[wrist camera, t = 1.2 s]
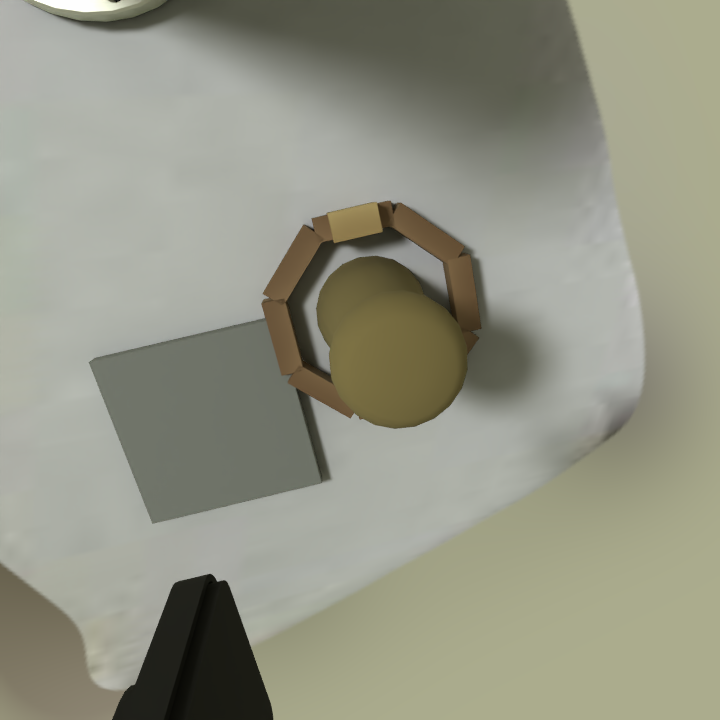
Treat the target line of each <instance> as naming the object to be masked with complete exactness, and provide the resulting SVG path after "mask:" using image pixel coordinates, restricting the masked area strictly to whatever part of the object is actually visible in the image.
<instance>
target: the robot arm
mask: <svg viewBox="0 0 720 720" xmlns="http://www.w3.org/2000/svg"><path fill="white" fill-rule="evenodd" d="M23 1H25V2H28V3H30V4H32V5H34V6H36V7H38V8H40V9H43V10H45V11H47V12H49V13H52V14H56V15H60V16H64V17H68V18H72V19H75V20H82V21H102V22H108V21H114V20H120V19H126V18H132V17H135V16H138V15H140V14H143V13H145V12H148V11H150V10H153V9H155V8H157V7H159V6H160V5H162V4H163V3H165V2H166V1H168V0H121V1H119V2H117V3H116V1H115V0H23ZM112 720H273V713H272V707H271V703H270V700H269V697H268V695H267V692H266V689H265V686H264V683H263V680H262V678H261V675H260V672H259V669H258V666H257V663H256V661H255V658H254V655H253V652H252V649H251V646H250V644H249V641H248V638H247V635H246V632H245V629H244V627H243V624H242V621H241V618H240V615H239V612H238V610H237V607H236V604H235V601H234V598H233V595H232V593H231V590H230V587H229V585H228V583H227V582H226V581H225V580H223V581H219V582H217V581H216V578H215V577H214V576H213V575H212V574H207V575H203V576H199V577H195V578H191V579H187V580H182V581H178V582H176V583H175V584H174V585H173V587H172V589H171V591H170V594H169V597H168V599H167V602H166V605H165V607H164V610H163V613H162V615H161V618H160V620H159V623H158V626H157V628H156V631H155V634H154V636H153V639H152V642H151V644H150V647H149V650H148V652H147V655H146V657H145V660H144V663H143V665H142V668H141V671H140V673H139V676H138V679H137V681H136V684H135V685H132V686H130V687H129V688H128V689H127V690H126V691H125V692H124V694H123V696H122V698H121V700H120V702H119V704H118V706H117V709H116V712H115V714H114V716H113V719H112Z"/></svg>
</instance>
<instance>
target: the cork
mask: <svg viewBox="0 0 720 720" xmlns="http://www.w3.org/2000/svg"><path fill="white" fill-rule="evenodd" d="M316 311H317V320H318V326H319V329H320V331H321V333H322V335H323V338H324V340H325V342H326V343H327V344H328V346H329V347H330V352H329V360H330V370H331V379H332V381H333V384H334V386H335V388H336V390H337V392H338V394H339V397H340V398H341V399H342V400H343V401H344V402H345V404H346V405H347V406H348V407H349V408H350V409H351V410H352V411H353V412H354V413H355V414H356V415H357V416H359V417H361V418H363V419H365V420H367V421H369V422H370V423H372V424H374V425H378V426H383V427H389V428H394V429H396V428H406V427H415V426H417V425H420V424H422V423H425V422H427V421H429V420H432V419H434V418H435V417H437V416H438V415H439V414H440V413H442V412H443V411H444V410H445V409H446V408H448V407H449V406H450V405H451V403H452V402H453V400H454V399H455V398H456V396H457V395H458V393H459V392H460V390H461V389H462V386H463V382H464V379H465V376H466V372H467V346H466V342H465V339H464V337H463V334H462V331H461V328H460V326H459V324H458V323H457V322H456V320H455V319H454V318H453V317H452V315H451V314H450V313H449V312H448V311H447V309H446V308H444V307H443V306H441V305H440V304H438V303H436V302H435V301H433V300H432V299H430V298H428V297H427V296H425V295H424V293H423V291H422V288H421V286H420V283H419V282H418V280H417V279H416V278H415V277H414V275H413V274H412V273H411V272H410V270H409V269H407V268H406V267H404V266H403V265H401V264H399V263H398V262H396V261H395V260H392V259H388V258H384V257H379V256H369V257H359V258H356V259H354V260H352V261H349V262H347V263H345V264H342V265H341V266H340V267H339V268H338V269H337V270H336V271H334V272H333V273H332V274H331V275H330V276H329V277H328V279H327V280H326V282H325V284H324V286H323V287H322V289H321V291H320V294H319V298H318V303H317V307H316Z"/></svg>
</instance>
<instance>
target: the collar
mask: <svg viewBox="0 0 720 720" xmlns="http://www.w3.org/2000/svg"><path fill="white" fill-rule="evenodd" d="M312 222H313V227H314V231H313V230H312V229H310V228H309V227H307V226H306V225H303V226H302V228H301V230H300V231H299V233H298V235H297V236H296V238H295V240H294V241H293V243H292V245H291V246H290V248H289V250H288V252H287V253H286V255H285V257H284V258H283V260H282V262H281V263H280V265H279V267H278V268H277V270H276V272H275V274H274V275H273V277H272V279H271V280H270V282H269V284H268V285H267V287H266V289H265V290H264V292H263V294H264V295H266V296H267V297H269V298H268V299H264V300H263V302H262V303H261V304H262V307H263V311H264V315H265V318H266V322H267V325H268V329H269V332H270V336H271V340H272V343H273V347H274V350H275V354H276V357H277V361H278V365H279V368H280V372H281V375H282V376H283V375H287V374H292V375H291V377H290V378H289V380H288V384H290V385H292V386H293V387H295V388H297V389H299V390H301V391H302V392H304V393H306V394H308V395H310V396H311V397H313V398H315V399H317V400H319V401H320V402H322V403H324V404H326V405H327V406H329V407H331V408H333V409H335V410H336V411H338V412H340V413H342V414H344V415H345V416H347V417H349V418H351V417H352V415H353V414H354V412H353V411H352V410H351V409H350V408H349V407H348V406H347V405H346V404H345V402H344V401H343V400H342V399H341V398H340V397H339V394H338V392H337V390H336V388H335V386H334V384H333V381H332V379H331V376H329V375H327V374H326V373H324V372H322V371H320V370H319V369H317V368H315V367H314V366H312V365H310V364H308V363H307V362H305V361H303V359H302V355H301V351H300V347H299V344H298V340H297V336H296V332H295V328H294V325H293V321H292V317H291V313H290V310H289V306H288V302H287V299H288V297H289V296H290V294H291V292H292V291H293V289H294V287H295V286H296V284H297V282H298V281H299V279H300V277H301V276H302V274H303V272H304V271H305V269H306V268H307V266H308V264H309V263H310V261H311V259H312V258H313V256H314V254H315V253H316V251H317V249H318V248H319V246H320V244H321V243H322V242H325V241H329V240H333V242H334V243H337V242H341V241H345V240H350V239H354V238H358V237H363V236H367V235H371V234H376V233H380V232H383V230H382V228H386V227H391V228H393V229H394V230H396V231H397V232H399V233H400V234H402V235H403V236H405V237H406V238H408V239H409V240H411V241H412V242H414V243H415V244H417V245H418V246H420V247H421V248H423V249H424V250H426V251H427V252H429V253H430V254H432V255H433V256H435V257H436V258H438V259H439V260H441V261H442V262H443V267H444V272H445V278H446V284H447V290H448V296H449V302H450V308H451V314H452V317H453V318H454V319H455V320H456V322H457V323H458V324H459V326H460V328H461V331H462V334H463V337H464V339H465V342H466V346H467V355H468V353H469V352H470V350H471V349H472V347H473V346H474V345H475V343H476V342H477V340H478V339H479V337H478V336H476V335H475V334H474V333H473V332H471V331H474V330H478V329H481V322H480V316H479V309H478V303H477V296H476V290H475V283H474V277H473V270H472V264H471V257H470V255H469V254H466V253H461V252H462V250H463V249H464V247H465V246H463V245H462V244H460V243H459V242H458V241H456V240H455V239H453V238H452V237H450V236H449V235H447V234H446V233H444V232H443V231H441V230H440V229H439V228H437V227H436V226H434V225H433V224H431V223H430V222H428V221H427V220H425V219H424V218H422V217H421V216H420V215H418V214H417V213H415V212H414V211H412V210H411V209H409V208H408V207H406V206H405V205H403V204H402V203H397V204H396V205H395V207H394V208H393V210H392V205H391V201H385V202H380V203H377V202H371V203H367V204H363V205H358V206H354V207H350V208H345V209H341V210H337V211H332V212H328V213H327V215H324V216H320V217H315V218H312ZM460 253H461V254H460ZM359 419H363V418H361V417H359Z"/></svg>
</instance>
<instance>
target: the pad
mask: <svg viewBox="0 0 720 720" xmlns="http://www.w3.org/2000/svg"><path fill="white" fill-rule="evenodd" d="M89 364H90V366H91V369H92V371H93V374H94V376H95V379H96V382H97V384H98V387H99V389H100V392H101V394H102V397H103V399H104V402H105V404H106V407H107V409H108V412H109V415H110V417H111V420H112V422H113V425H114V427H115V430H116V432H117V435H118V437H119V440H120V442H121V445H122V447H123V450H124V453H125V455H126V458H127V460H128V463H129V465H130V468H131V470H132V473H133V475H134V478H135V480H136V483H137V486H138V488H139V491H140V493H141V496H142V498H143V501H144V503H145V506H146V508H147V511H148V513H149V516H150V519H151V521H152V524H153V523H157V522H162V521H166V520H170V519H174V518H178V517H182V516H186V515H191V514H195V513H199V512H203V511H207V510H211V509H216V508H220V507H224V506H228V505H232V504H236V503H241V502H245V501H249V500H253V499H257V498H261V497H265V496H270V495H274V494H278V493H282V492H286V491H290V490H295V489H299V488H303V487H307V486H311V485H315V484H320V483H322V480H321V473H320V469H319V466H318V462H317V458H316V455H315V451H314V447H313V444H312V440H311V436H310V433H309V429H308V425H307V422H306V418H305V414H304V411H303V407H302V403H301V400H300V396H299V392H298V389H297V388H295V387H293V386H292V385H290V384H288V380H289V378H290V377H291V375H292V374H287V375H283V376H282V375H281V372H280V368H279V365H278V361H277V357H276V354H275V350H274V347H273V343H272V340H271V336H270V332H269V329H268V325H267V322H266V318H264V319H260V320H256V321H251V322H247V323H243V324H238V325H234V326H230V327H226V328H221V329H217V330H213V331H209V332H204V333H200V334H196V335H191V336H187V337H183V338H179V339H174V340H170V341H166V342H161V343H157V344H153V345H149V346H144V347H140V348H136V349H132V350H127V351H123V352H119V353H114V354H110V355H106V356H102V357H97V358H94V359H93V360H92V361H90V362H89Z"/></svg>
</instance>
